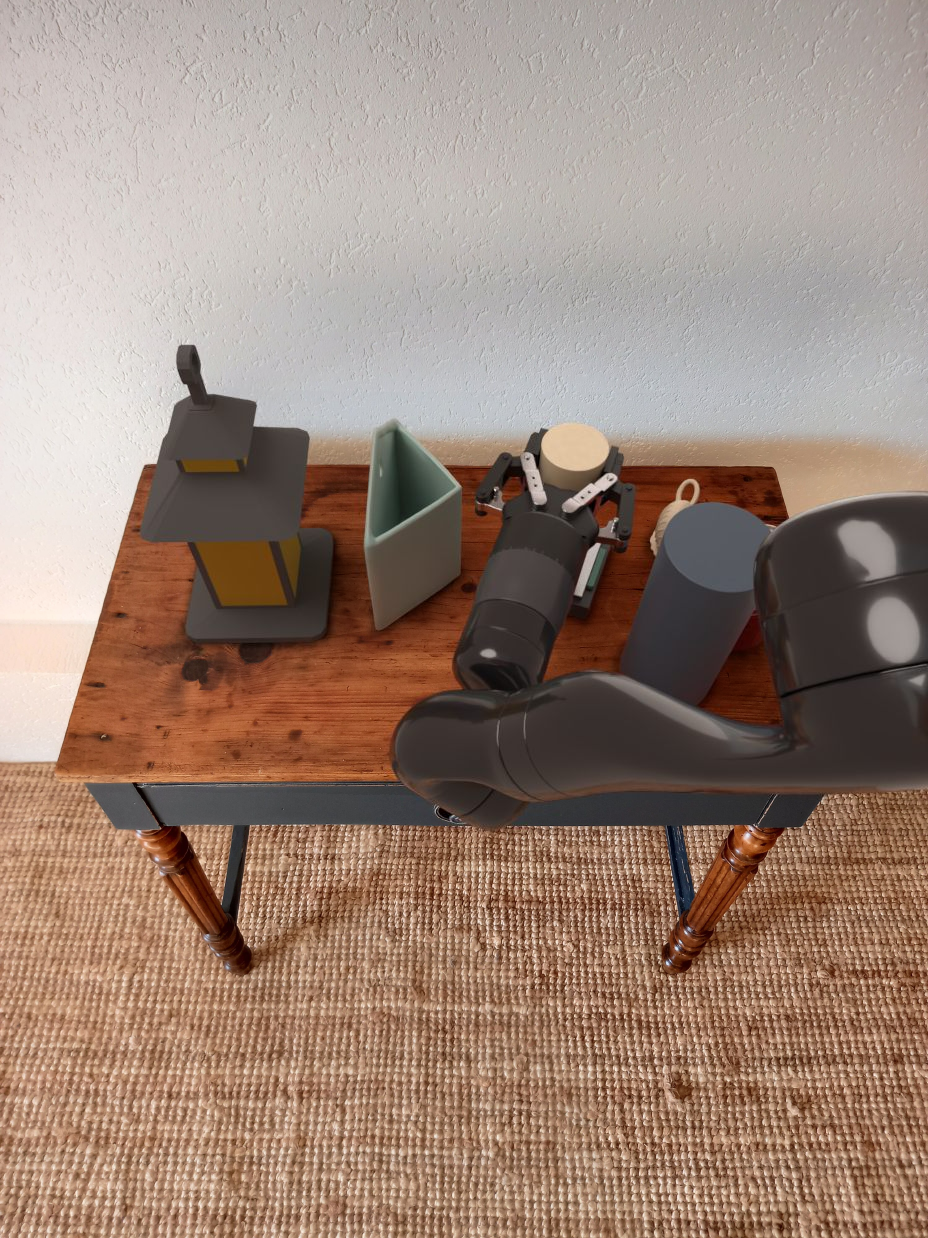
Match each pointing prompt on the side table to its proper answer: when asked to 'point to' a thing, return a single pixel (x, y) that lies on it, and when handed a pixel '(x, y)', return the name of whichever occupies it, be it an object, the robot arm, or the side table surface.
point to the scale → (589, 580)
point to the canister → (572, 456)
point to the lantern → (239, 519)
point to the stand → (695, 599)
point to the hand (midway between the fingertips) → (578, 444)
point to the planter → (409, 524)
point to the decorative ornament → (672, 513)
